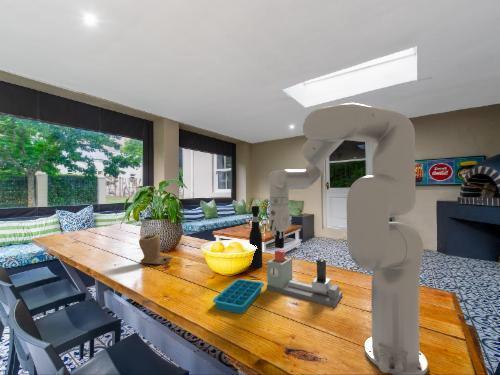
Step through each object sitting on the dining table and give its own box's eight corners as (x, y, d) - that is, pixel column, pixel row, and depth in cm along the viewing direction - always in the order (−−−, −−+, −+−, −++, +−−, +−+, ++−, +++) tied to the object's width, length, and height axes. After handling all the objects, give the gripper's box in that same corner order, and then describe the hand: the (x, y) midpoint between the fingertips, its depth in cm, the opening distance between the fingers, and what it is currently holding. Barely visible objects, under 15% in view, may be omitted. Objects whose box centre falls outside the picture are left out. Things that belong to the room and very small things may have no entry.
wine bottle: (261, 268, 118) (260, 206, 117) (248, 267, 119) (247, 206, 118) (263, 264, 124) (262, 205, 123) (251, 263, 125) (250, 205, 125)
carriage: (325, 296, 84) (325, 264, 83) (311, 292, 86) (311, 261, 86) (330, 289, 88) (330, 259, 88) (317, 286, 91) (317, 257, 91)
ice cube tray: (264, 290, 94) (264, 282, 94) (243, 317, 75) (243, 307, 75) (237, 286, 99) (237, 278, 99) (211, 309, 80) (211, 300, 80)
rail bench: (334, 307, 80) (334, 275, 80) (266, 289, 94) (266, 262, 94) (342, 295, 88) (342, 266, 88) (278, 280, 103) (278, 255, 103)
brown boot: (134, 265, 125) (133, 236, 125) (151, 258, 136) (151, 231, 136) (157, 268, 120) (156, 238, 119) (173, 261, 131) (172, 233, 130)
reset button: (282, 268, 94) (281, 253, 94) (273, 266, 96) (272, 251, 96) (286, 265, 97) (286, 250, 97) (277, 264, 100) (277, 249, 100)
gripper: (278, 203, 88) (279, 253, 89) (295, 200, 101) (295, 244, 101) (261, 202, 93) (261, 250, 93) (279, 200, 105) (279, 242, 105)
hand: (279, 247), depth 97 cm, fingers closed
